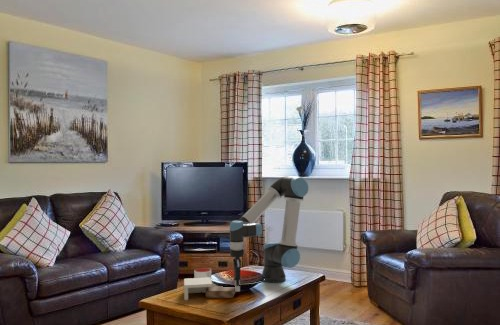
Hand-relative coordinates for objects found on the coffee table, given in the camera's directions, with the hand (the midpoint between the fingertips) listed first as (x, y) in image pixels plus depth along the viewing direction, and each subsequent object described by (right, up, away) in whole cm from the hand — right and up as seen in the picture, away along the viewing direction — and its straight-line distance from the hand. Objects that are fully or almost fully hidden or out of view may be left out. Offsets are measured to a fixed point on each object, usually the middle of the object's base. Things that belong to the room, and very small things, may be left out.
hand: (237, 291), depth 258 cm
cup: (-21, -2, +15) cm, 26 cm away
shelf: (-22, -2, -2) cm, 22 cm away
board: (-9, -2, -2) cm, 10 cm away
